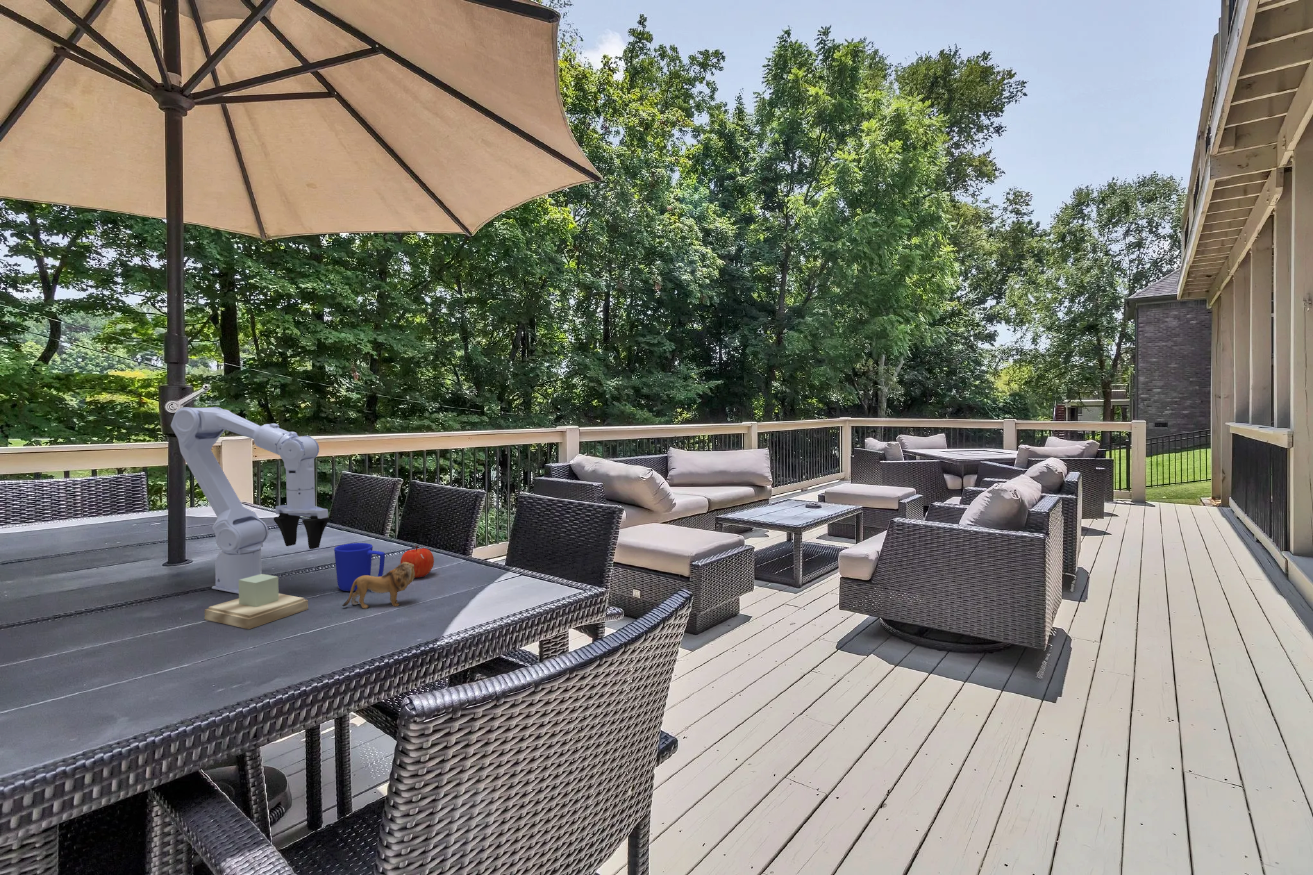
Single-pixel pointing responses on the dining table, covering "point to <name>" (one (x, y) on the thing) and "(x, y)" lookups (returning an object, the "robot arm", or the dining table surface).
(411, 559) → the apple
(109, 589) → the dining table surface
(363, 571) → the mug
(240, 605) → the plinth
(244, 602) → the sage cube
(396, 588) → the lion figurine
